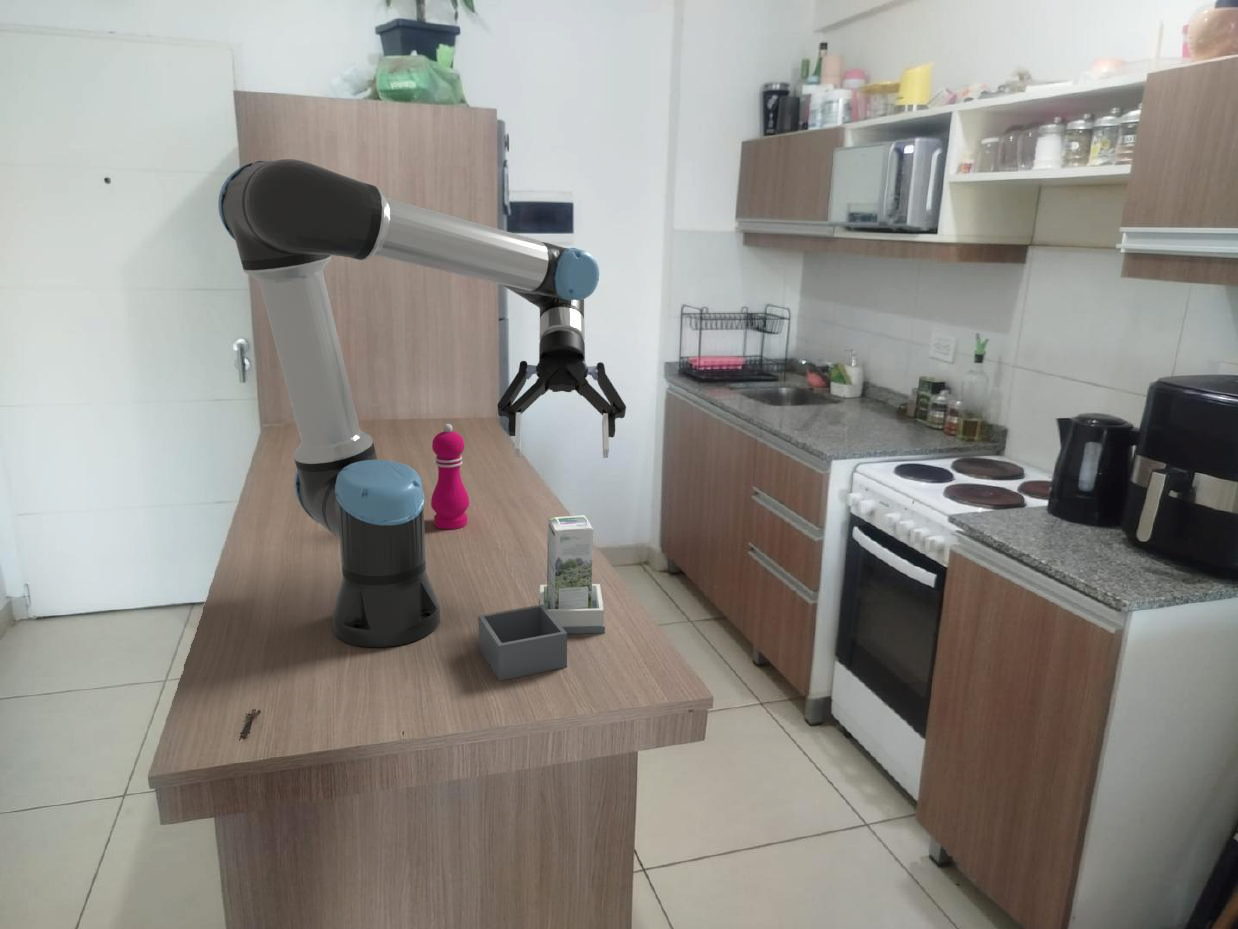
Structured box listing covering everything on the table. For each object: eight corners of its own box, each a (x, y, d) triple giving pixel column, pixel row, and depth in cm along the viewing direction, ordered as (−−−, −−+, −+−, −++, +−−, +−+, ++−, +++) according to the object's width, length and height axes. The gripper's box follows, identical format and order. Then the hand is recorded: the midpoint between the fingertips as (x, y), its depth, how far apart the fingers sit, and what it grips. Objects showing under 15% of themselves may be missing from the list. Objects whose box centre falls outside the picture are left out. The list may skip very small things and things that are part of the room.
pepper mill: (461, 532, 163) (458, 429, 158) (425, 528, 164) (421, 426, 159) (475, 519, 170) (472, 420, 164) (440, 516, 171) (437, 418, 166)
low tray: (604, 632, 125) (605, 610, 124) (538, 634, 124) (538, 611, 123) (600, 604, 134) (600, 583, 133) (538, 605, 134) (538, 584, 133)
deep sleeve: (499, 680, 112) (498, 646, 110) (479, 648, 120) (478, 615, 119) (566, 666, 116) (567, 633, 114) (542, 636, 124) (542, 604, 122)
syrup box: (583, 601, 133) (584, 513, 129) (592, 618, 127) (593, 526, 123) (546, 605, 131) (546, 515, 127) (554, 622, 126) (554, 529, 122)
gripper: (634, 356, 147) (640, 465, 137) (487, 354, 145) (482, 464, 135) (638, 329, 141) (644, 441, 131) (484, 326, 139) (478, 440, 129)
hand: (561, 453), depth 133 cm, fingers open, 13 cm apart
